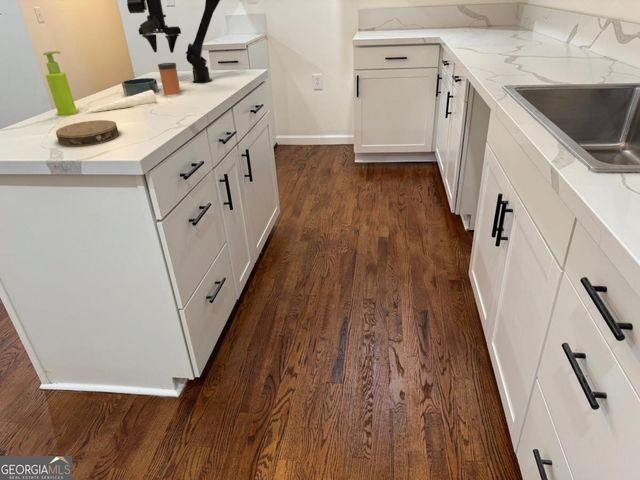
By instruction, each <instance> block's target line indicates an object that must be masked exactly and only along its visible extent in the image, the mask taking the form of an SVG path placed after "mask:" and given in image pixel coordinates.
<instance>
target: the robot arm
mask: <svg viewBox="0 0 640 480" xmlns="http://www.w3.org/2000/svg"><path fill="white" fill-rule="evenodd" d="M220 2H221V0H205V4H204V10H203V13H202V16H201V19H200V22H199V26H198V28H197V31H196V35H195V37H194V40H193V42H192V43H191V42H189V43H188V45H187V50H186V51H185V55H186V61H187V62H188V64H190V65H191V67H192V76H193V80H192V83H197V84H198V83H201V84H204V83H208V82H212V81H213V78H211V77H210V71H209V66H207V63H208V61H207V59H205V57H203V56H202V53H203V46H204V42H205V39H206V36H207V33H208V31H209V27H210V24H211V21H212V18H213V15H214V13H215V11H216V9H217V7H218V5H219V4H220ZM126 3H127V4H126V6H127V10H128V12H129V14H145V12H146V11H148V15H146V20H145V21H144V22H142V23H141V24H140V25H139V27H138V29H137V30H138V35H140V36H141V37H142V38H144V39H146V41H147V42H148V43H149V45H150V47H151V49H152V51H153V52H154V53H157V52H158V43H157V42H158V41H157V34H165V35H164V37H165V38H166V40H167V43H168V48H169V52H170V54H173V53H174V51H175V46H176V43H177V40H178V37H180V35H182V31H181V30H182V29H181V28H180V26H168V24H166V21H165V18H167V14H164V10H163V5H162V0H126Z"/></svg>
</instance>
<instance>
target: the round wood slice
mask: <svg viewBox="0 0 640 480" xmlns="http://www.w3.org/2000/svg"><path fill="white" fill-rule="evenodd" d="M55 135H56V138H57V141H58V144H59V145H61V146H64V147H74V148H75V147H76V148H77V147H87V146H94V145H99V144H103V143H106V142H110V141H112V140H114V139H116V138H117V137H119V135H120V133H119V129H118V125H117V122H115V121H113V120H107V119H106V120H104V119H99V120H98V119H97V120H88V121H87V120H86V121H80V122H75V123H71V124H67V125H64V126H62V127H59V128H58V129H56V131H55Z"/></svg>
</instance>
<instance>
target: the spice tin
mask: <svg viewBox="0 0 640 480" xmlns="http://www.w3.org/2000/svg"><path fill="white" fill-rule="evenodd" d="M157 67H158V71H159V75H160V80H161V85H162V90H163V94H164V95H166V96H173V95H179V94H181V86H180V81H179V80H180V79H179V76H178V75H179V74H178V70H177V63H176V62H162V63H157Z"/></svg>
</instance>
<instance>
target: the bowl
mask: <svg viewBox="0 0 640 480" xmlns="http://www.w3.org/2000/svg"><path fill="white" fill-rule="evenodd" d="M157 81H158V80H157V78H153V77H142V78H140V77H139V78H134V79H133V78H132V79H127V80H123V81H122V82H121V86H122V90H123V94H124V95H125V96H127V97H130V96H133V95H136V94H140V93H143V92H146V91H149V90H153V92H154V93H155V94H157V93H158V92H159V85H158V82H157Z"/></svg>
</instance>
